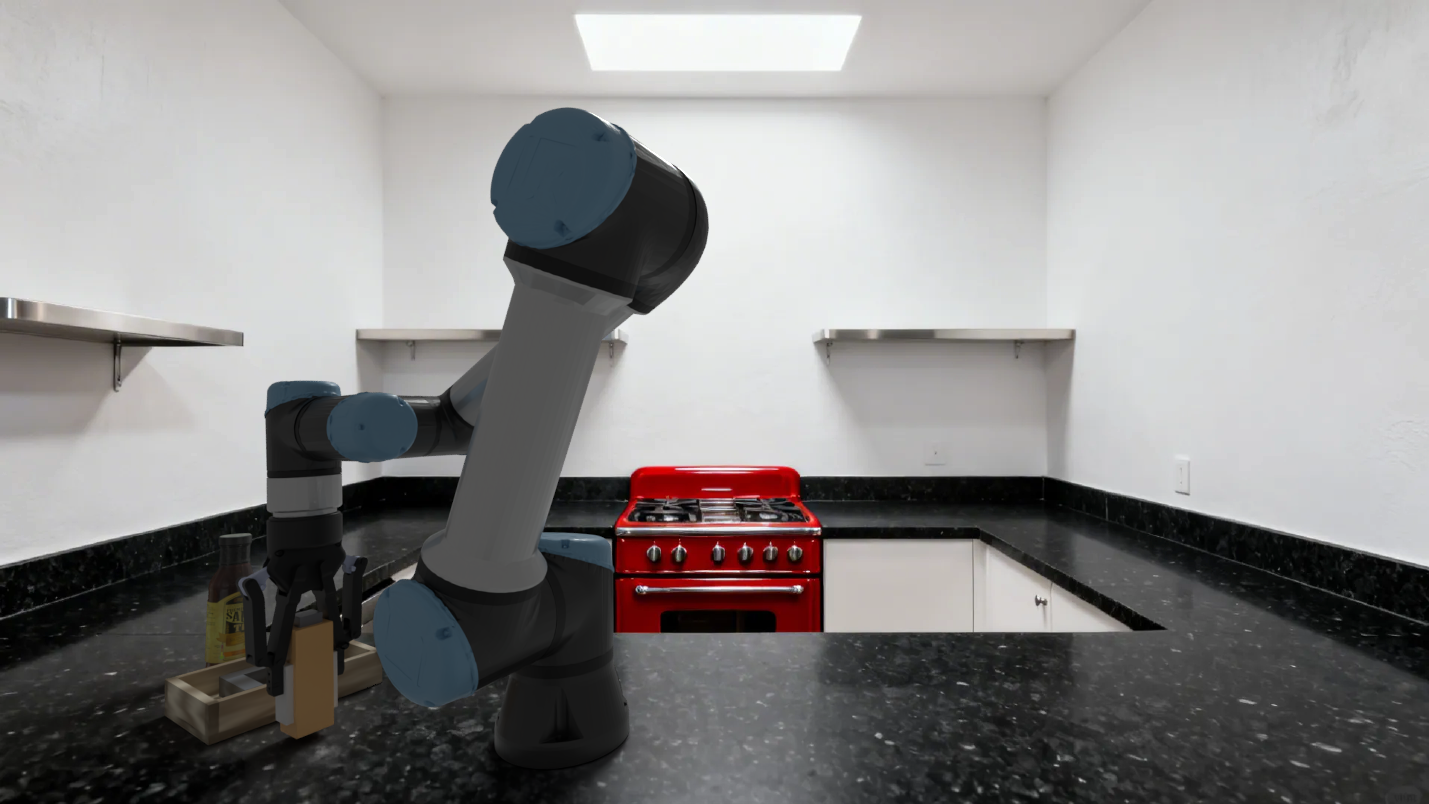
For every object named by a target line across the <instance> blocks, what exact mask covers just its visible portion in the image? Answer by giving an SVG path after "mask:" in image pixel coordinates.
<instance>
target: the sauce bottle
mask: <svg viewBox="0 0 1429 804" xmlns="http://www.w3.org/2000/svg"><path fill="white" fill-rule="evenodd" d="M252 542H253V534H251V533H249V532H247V533H244V532H243V533H231V534H224V535H220V536H219V537H218V547H219V561H218V568H217V570H216V572H215V573H213V575H212V577H211V578H210V580H209V583H208V595H207V600H206V623H205V625H206V626H205V644H204V661H205V666H204V667H205V668H207V667H211V666H215V665H218V664H222V663H225V662H229V661H233V660H236V659H240V658H243V657H246V656H245V635H244V615H243V598H242V596H241V594H240V592H239V590H238V588H237V586H236V580H237V579H238V578H239V577H242V576H245V577H248V576H250V575H251V574H253V573H254V571H253V570H254V569H253V566H252V564H251V562H252V561H251V560H252V559H251V545H252Z"/></svg>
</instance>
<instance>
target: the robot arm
mask: <svg viewBox="0 0 1429 804" xmlns="http://www.w3.org/2000/svg"><path fill="white" fill-rule="evenodd" d="M489 195H490V197H489V199H490V203H491V205H492V206H494V207H495V208H494V209H493V211H492V214H493V216H494V219H495V222H496V223H497V225H498V226H499V228H500V229H501V231H502V232H503V233H504V234H505V235H506V237H507V238H508V239H507V243H506V245H505V249H504V253H503V256H502V260H503V262H504V265H505V266H506V268H507V270H508V272H509V273H510V275H511V277H512V279H513V283H514V286H513V289H512V293H511V297H510V301H509V303H508V308H507V311H506V314H505V318H504V321H503V324H502V328H501V332H500V335H499V338H498V342H497V344H495V345H494V346H493V347H492V348H491V349H490V350H489V351H487V352H486V354H484V355H483V356H481V358H480V359H479V360H478V361H477V362H476V363H475V364H474V365H473V366H471V367H470V368H468V370H467V371H466V372H465V373H463V375H462V376H460V377H459V378H458V379H457V380H456V381H455V382H454V383H453V384H451V386H449V387H448V388H447V389H446V390H444V392H443V393H441V394H440V395H435V396H433V395H432V396H431V395H430V396H429V395H399V394H393V393H388V392H380V391H379V392H376V391H375V392H374V391H373V392H371V391H370V392H369V391H363V392H358V393H355V394H346V395H345V394H344V395H342V391H341V387H340V385H339V384H338V383H336V382H333V381H327V380H285V381H284V380H281V381H276V382H272V383H271V384H270V385H269V386H268V388H267V390H266V406H265V409H264V410H265V411H264V413H263V415H264V416H263V417H264V419H265V421H264V422H265V455H266V456H265V458H266V463H265V464H266V510H267V512H268V513H271V514H272V516H269V517H268V519H267V520H266V551H267V552H266V553H267V554H266V559H265V560H264V562H263V564H262V567H261V569H259V570H257V571H255V572H253V574H251V575H250V576H248V577H245V576H242V577H239V578H238V579H237V580H236V586H237V588H238V590H239V592H240V594H241V596H242V598H243V615H244V635H245V656H246V662H247V663H249V664H251V665H254V666H256V667H266V685H267V686H266V691H267V693H268V695H271V696H273V697H275V704H276V721H275V722H279V723H282V724H284V725H286V726H287V725H290V724H292V723H294V691H293V664H290V663H288V662H286V658H287V653H288V648H289V644H290V639H291V634H292V629H293V624H294V619H295V614H296V613H297V608H298V605H299V604H300V603H301V600H302V595H303V594H306V593H308V592H311V593H312V594H313V596H314V598H315V601H316V606H317V611H321V612H322V618H323V619H327V620H330V621H333V665H334V709H336V708H338V704H339V700H338V699H339V698H338V684H337V676H338V675H341V674H343V672H344V669H345V665H344V664H345V662H344V650H346V649H347V648H348V647H349V645H350V641H352V640H357V639H359V638H360V637H361V636H362V625H363V624H362V621H363V620H362V619H363V616H362V615H363V581H364V580H363V579H364V574H365V571H366V570H367V567H368V563H369V560H368V558H367V557H366V556H359V555H349V554H347V553H346V550H345V549H344V547H343V545H342V542H343V538H344V535H343V534H344V533H343V531H344V530H343V523H344V522H343V518H344V517H343V512H341V510H338V508H339V507H341V506H342V505H343V469H342V464H343V462H358V463H363V464H369V463H381V462H386V461H391V460H397V459H399V460H401V459H410V458H411V459H412V458H422V457H423V458H425V457H439V456H440V457H441V456H465V459H464V462H463V466H462V469H461V473H460V477H459V480H458V483H457V487H456V489H455V494H454V497H453V500H452V501H453V502H452V504H451V508H450V511H449V514H448V518H447V521H446V526H445V528H444V529H440V530H439V531H437V532H435V533H433V534H431V535H429V536H428V538H426V539H425V540H424V542H423V544H422V546H421V550H420V552H419V556H418V560H417V562H416V563H417V564H416V567H415V570H414V573H413V575H412V576H411V578H401V579H399V580H397V581H396V582H394V583H393V584H392V585H391V586H389V587H386V588H385V589H384V590H383V591H382V593H381V594H380V595H379V597H378V599H377V600H376V603H375V606H374V611H373V618H372V620H373V621H372V633H373V639H374V640H373V641H374V646H375V648H376V650H377V654H378V656H379V658H380V661H381V664H382V670H383V671H384V673H385V675H386V676H387V678H388V679H389V681H390V682H391V684H392V685H393V687H394V688H395V689H396V690H397V691H398V693H400V694H401V695H402V696H403V697H404V698H406V699H407V700H408V701H410V702H412V703H414V704H416V705H418V706H422V707H424V708H425V707H427V708H437V707H441V706H445V705H447V704H449V703H452V702H455V701H457V700H460V699H465V698H466V699H467V698H469V697H470V696H473V695H474V693H476V692H478V691H480V690H482V689H484V688H487V687H488V686H490V685H492V684H494V683H496V682H498V681H499V680H501V679H503V678H506V677H508V676H509V677H508V681H507V684H506V688H505V691H504V696H503V699H502V703H501V707H500V711H499V712H498V714H497V717H496V719H495V723H494V750H495V752H496V754H497V755H498V757H500V758H501V759H502V760H503V761H505V762H507V763H510V764H511V765H514V766H518V767H521V768H526V769H535V770H536V769H537V770H552V769H562V768H569V767H574V766H579V765H583V764H587V763H589V762H592V761H594V760H597V759H600V758H601V757H604V756H605V755H607V754H609V753H610V752H612V751H614V750H616V749H617V748H618V747H619V746H620V745H622V744H623V742H625V740H626V739H627V737H628V735H629V732H630V728H631V727H630V707H629V703H628V701H627V699H626V697H625V696H624V691H623V687H622V684H621V683H622V682H621V680H620V678H619V674H618V671H617V669H616V665H615V660H614V659H615V657H614V573H615V566H614V565H613V555H612V553H613V552H612V546H611V544H610V542H609V541H608V540H607V539H606V538H604V537H602V536H600V535H596V534H587V533H576V532H575V533H574V532H544V529H545V525H546V522H547V518H548V515H549V512H550V509H551V505H552V503H553V500H554V499H553V498H554V496H555V492H556V489H557V486H558V484H559V483H558V482H559V480H560V476H561V474H562V470H563V467H564V465H565V462H566V458H567V455H568V451H569V447H570V445H571V442H572V440H573V439H572V438H573V435H574V431H575V429H576V426H577V422H578V419H579V416H580V413H581V410H582V406H583V403H584V400H585V397H586V393H587V391H588V386H589V385H590V381H591V378H592V373H593V372H594V368H595V364H596V361H597V358H598V355H599V353H600V348H601V345H602V342H603V340H604V339H605V338H606V337H608V336H609V335H610V334H611V333H612V332H613V331H615V330H616V329H617V328H618V327H619V326H621V325H622V324H623V323H624V322H625V321H627V320H628V319H629V318H631V317H632V316H633V315H639V316H646V315H648V314H650V313H652V312H653V311H654V310H655V309H657V307H659V305H661V304H662V303H663V302H665V301H666V300H667V299H668V298H669V297H670V296H673V294H674V293H675V292H676V291H677V290H678V289H679V288H680V287H681V286H682V285H683V284H684V282H685V281H686V280H688V278H689V277H691V274H692V273H693V272H694V270H695V269H696V267H697V266H698V264H699V263H700V261H701V260H702V259H701V258H702V256H703V254H704V252H705V249H706V247H707V243H708V237H709V230H710V228H709V227H710V225H709V224H710V223H709V214H708V213H709V212H708V207H707V204H706V201H705V199H704V196H703V193H702V192H701V191H700V189H699V187H698V185H697V184H696V182H695V181H694V180H693V179H692V178H691V177H690V176H689V175H688V174H687V173H686V172H685V171H684V170H683V169H681V168H679V167H678V166H676V165H675V164H673V163H671V162H669V161H667V160H665V158H663V157H662V156H660V155H659V154H657V153H656V152H654V151H653V150H652V149H650V148H649V147H647V146H646V145H645V144H644V143H642V142H641V141H639V140H638V139H636V138H635V137H633V136H632V135H631V134H629V132H628V131H627V130H625V129H624V128H623V127H622V126H620V125H619V124H615V123H612V122H610V121H608V120H605V119H604V118H602V117H600V116H598V115H596V114H594V113H592V112H590V111H588V110H586V109H582V108H580V107H579V108H577V107H568V106H567V107H558V108H554V109H553V108H551V109H549V110H546V111H544V112H542V113H539V114H538V115H536V116H535V117H534V118H533V119H532V120H531V122H529V123H525V124H524V125H521V127H520V128H518V130H517V131H516V132H515V133H514V134H513V135H512V137H510V139H509V141H508V142H507V143H506V145H505V146H504V147H503V149H502V151H501V154H500V155H499V157H498V159H497V161H496V164H495V167H494V169H493V173H492V177H491V183H490V194H489ZM340 569H341V570H342V572H343V575H342V592H341V593H342V594H341V595H342V597H341V598H342V600H341V613H340V609H339V604H338V600H337V597H336V593H337V588H336V587H337V586H336V584H335V579H334V578H335V576H336V575H337V573H338V572H339V570H340ZM268 579H269V580H270V581H271V582H272V583H273V585H275V586H276V592H275V593H276V594H275V598H274V599H275V606H274V607H275V608H274V612H273V618H272V620H271V621H272V622H271V625H270V630H269V636H267V620H266V619H267V617H266V600H265V598H266V597H265V595H264V593H263V592H264V591H265V590H266V588H267V580H268ZM267 637H268V639H267Z"/></svg>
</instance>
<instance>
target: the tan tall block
mask: <svg viewBox="0 0 1429 804" xmlns="http://www.w3.org/2000/svg"><path fill="white" fill-rule="evenodd" d="M286 662H288V663H290V664H293V691H294V723H292V724H290V725H287V726H286V725H284V724H282V723H280V722H279V723H280V727H279V728H280V729H279V730H280V732H282V733H284V734H286V735H288V736H289V737H291V738H294V739H295V740H298V739H300V738H303V737H305V736H308V735H311V734H313V733H316V732H318V731H321V730H323V729H326V728H328V727H332V726H334V725H335V708H334V665H333V621H330V620H327V619H323V618H322V612H321V611H318V609H317V610H316V609H313V608H311V609H308V610H303V611H299V612H296V614H295V619H294V624H293V629H292V634H291V639H290V644H289V648H288V653H287V658H286Z"/></svg>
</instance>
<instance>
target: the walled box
mask: <svg viewBox="0 0 1429 804" xmlns="http://www.w3.org/2000/svg"><path fill="white" fill-rule="evenodd" d="M344 662H345V664H344V665H345V669H344V672H343V674H341V675H338V676H337V684H338V699H340V698H342V697H346V696H348V695H351V694H353V693H357V692H360V691H363V690H365V689H367V687H368V688H370V687H372V686H373V685H374V686H376V685H379V684H382V683H383V667H382V664H381V661H380V658H379V656H378V654H377V650H376V646H375V647H374V646H371V645H369V644H366V643H364V642H360V641H357V640H356V639H353V640H352V641H350V645H349V647H348V648H347V649H346V650H344ZM381 682H382V683H381ZM375 684H376V685H375ZM266 686H267V685H266V667H256V666H254V665H251V664H249V663H247V662H246V657H243V658H240V659H236V660H233V661H229V662H225V663H222V664H218V665H215V666H211V667H207V668H200V669H197V670H194V671H191V672H187V673H183V674H180V675H176V676H172V677H169V678H164V716H165V717H166V718H168V719H169V720H171V721H172V722H174V723H175V724H176V725H178V726H180V727H181V728H182V729H184V730H185V731H186V732H188V733H190V734H191V735H193V737H195V738H197V739H198V740H200V741H201V742H203V743H205V745H207V746H211V745H213V744H217V743H218V742H221V741H224V740H227V739H230V738H233V737H235V736H238V735H241V734H243V733H246V732H249V731H252V730H255V729H258V728H260V727H263V726H265V725H269V724H272V723H275V722H277V721H276V704H275V697H273V696H271V695H268V693H267V691H266Z"/></svg>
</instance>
